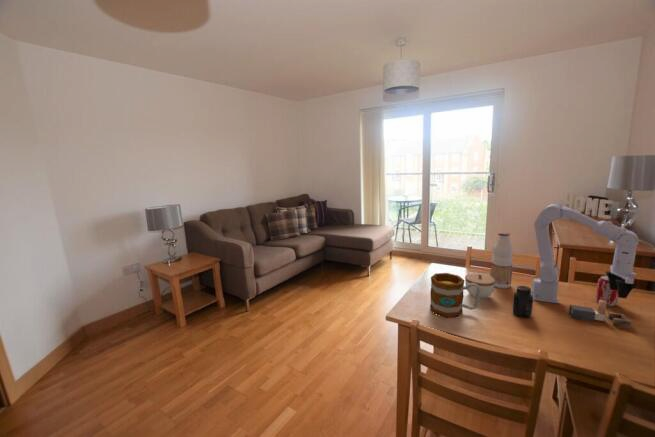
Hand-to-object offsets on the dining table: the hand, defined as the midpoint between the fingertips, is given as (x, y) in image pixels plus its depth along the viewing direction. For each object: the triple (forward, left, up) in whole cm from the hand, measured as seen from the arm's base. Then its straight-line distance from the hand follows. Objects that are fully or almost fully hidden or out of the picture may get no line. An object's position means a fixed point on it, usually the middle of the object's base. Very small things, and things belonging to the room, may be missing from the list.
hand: (617, 293), depth 116 cm
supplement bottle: (-33, -13, -10) cm, 37 cm away
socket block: (-1, -7, -10) cm, 12 cm away
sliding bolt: (-10, -7, -9) cm, 15 cm away
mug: (-59, -21, -10) cm, 64 cm away
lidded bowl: (-49, -1, -10) cm, 50 cm away
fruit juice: (-39, +16, -10) cm, 44 cm away
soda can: (+1, +11, -10) cm, 15 cm away
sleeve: (-12, -7, -10) cm, 17 cm away
